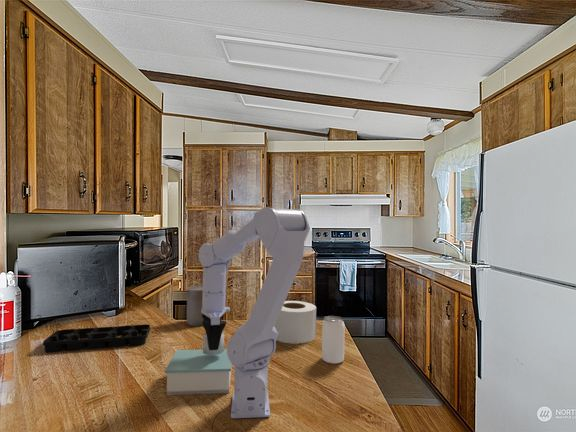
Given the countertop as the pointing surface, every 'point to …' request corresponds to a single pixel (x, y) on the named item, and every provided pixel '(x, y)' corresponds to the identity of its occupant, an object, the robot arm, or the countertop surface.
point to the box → (198, 383)
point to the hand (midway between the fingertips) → (212, 345)
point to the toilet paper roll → (296, 322)
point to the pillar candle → (194, 305)
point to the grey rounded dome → (213, 352)
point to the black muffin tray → (96, 338)
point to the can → (333, 339)
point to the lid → (198, 362)
